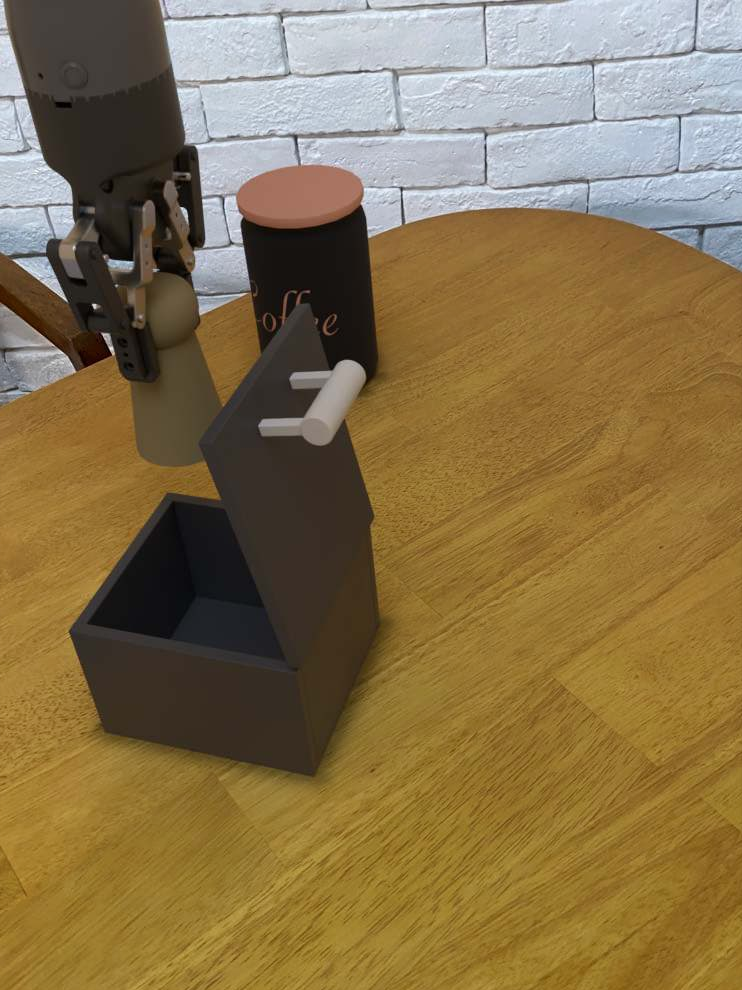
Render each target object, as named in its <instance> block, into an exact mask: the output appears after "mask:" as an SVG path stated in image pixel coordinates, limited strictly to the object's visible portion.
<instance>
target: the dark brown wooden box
mask: <svg viewBox="0 0 742 990" xmlns="http://www.w3.org/2000/svg"><path fill="white" fill-rule="evenodd" d="M374 559H375V558H374V549H373V540H372V530H371V527H370V528H369V530H368V532H367V534H366V536H365V538H364V540H363V542H362V544H361V546H360V548H359V550H358V552H357V554H356V557H355V559H354V561H353V563H352V565H351V567H350V569H349V571H348V573H347V575H346V577H345V579H344V581H343V583H342V585H341V587H340V589H339V591H338V594H337V596H336V598H335V600H334V602H333V604H332V606H331V608H330V610H329V612H328V614H327V616H326V618H325V620H324V622H323V624H322V626H321V628H320V631H319V633H318V635H317V637H316V639H315V641H314V643H313V645H312V647H311V649H310V651H309V653H308V655H307V657H306V659H305V661H304V663H303V665H302V667H301V668H290V667H289V666H288V663H287V661H286V658H285V656H284V653H283V651H282V649H281V646H280V644H279V641H278V639H277V636H276V634H275V631H274V629H273V626H272V624H271V621H270V619H269V617H268V614H267V612H266V609H265V607H264V604H263V602H262V599H261V597H260V594H259V592H258V589H257V587H256V585H255V582H254V580H253V577H252V575H251V572H250V570H249V567H248V565H247V562H246V560H245V557H244V555H243V552H242V550H241V548H240V545H239V543H238V540H237V538H236V535H235V533H234V530H233V528H232V525H231V523H230V520H229V518H228V516H227V513H226V511H225V508H224V506H223V503H222V501H221V499H217V498H210V497H209V498H208V497H202V496H197V495H196V496H195V495H189V494H183V493H177V492H169V491H168V492H166V493H165V495H164V496H163V498H162V499H161V500H160V502H159V503H158V505H157V506H156V508H155V509H154V510H153V512H152V513H151V514H150V515H149V517H148V519H147V521H146V522H145V523H144V525H143V526H142V527H141V528H140V530H139V531H138V533H136V536H135V537H134V539H133V540H132V542H130V543H129V546H127V548H126V550H125V551H124V552H123V554H122V555H121V557H120V558H119V559H118V561H117V562H116V564H115V565H114V566H113V568H112V569H111V570H110V572H109V573H108V575H107V577H106V578H105V579H104V581H103V582H102V584H101V585H100V586H99V588H98V589H97V590H96V592H95V593H94V595H93V596H92V597H91V598H90V600H89V602H88V603H87V604H86V605H85V607H84V609H83V610H82V611H81V613H79V615H78V617H77V618H76V619H75V621H74V622H73V623H72V625H71V626H70V628H69V629H68V634H69V636H70V639H71V643H72V644H73V649H74V650H75V652H76V657H77V658H78V662H79V664H80V667H81V670H82V672H83V675H84V679H85V681H86V684H87V687H88V689H89V692H90V695H91V697H92V701H93V703H94V706H95V709H96V713H97V714H98V717H99V720H100V724H101V726H102V728H103V731H104V733H105V734H110V735H114V736H120V737H124V738H128V739H132V740H139V741H142V742H147V743H153V744H157V745H162V746H166V747H171V748H175V749H179V750H185V751H189V752H194V753H200V754H204V755H209V756H212V757H218V758H223V759H226V760H231V761H237V762H241V763H246V764H250V765H255V766H260V767H264V768H269V769H274V770H279V771H283V772H288V773H292V774H297V775H302V776H307V777H311V778H315V777H316V776H317V772H318V769H319V767H320V765H321V763H322V760H323V758H324V757H325V753H326V751H327V750H328V747H329V744H330V743H331V740H332V737H333V735H334V733H335V731H336V728H337V726H338V724H339V721H340V719H341V717H342V714H343V712H344V710H345V708H346V706H347V703H348V701H349V699H350V696H351V694H352V691H353V689H354V687H355V685H356V682H357V680H358V678H359V676H360V673H361V670H362V668H363V666H364V664H365V662H366V659H367V657H368V654H369V652H370V650H371V648H372V645H373V643H374V641H375V640H376V639H375V638H376V636H377V634H378V632H379V629H380V627H381V620H380V609H379V601H378V600H379V599H378V589H377V581H376V571H375V562H374V561H375V560H374Z"/></svg>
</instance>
